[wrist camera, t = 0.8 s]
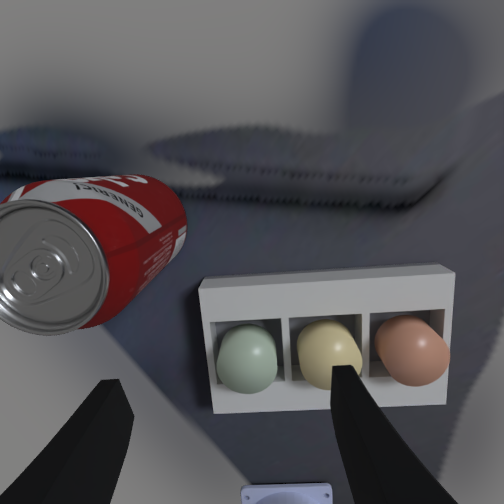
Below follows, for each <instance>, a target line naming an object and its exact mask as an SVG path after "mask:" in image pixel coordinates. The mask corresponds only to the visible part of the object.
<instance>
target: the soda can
mask: <svg viewBox="0 0 504 504" xmlns="http://www.w3.org/2000/svg"><path fill="white" fill-rule="evenodd" d="M186 235H187V217H186V213H185V210H184V207H183V205H182V203H181V201H180V199H179V198H178V196H177V195H176V194H175V193H174V191H173V190H172V189H171V188H169V187H168V186H167V185H166V184H164V183H163V182H161V181H159V180H157V179H155V178H153V177H149V176H145V175H120V176H105V177H90V178H75V179H60V180H47V181H40V182H35V183H31V184H28V185H26V186H23V187H21V188H19V189H17V190H16V191H14V192H13V193H11V194H10V195H9V196H7V197H6V198H5V199H4V200H3V201H2V202H1V204H0V319H1V320H2V321H4V322H5V323H7V324H9V325H10V326H12V327H14V328H17V329H19V330H22V331H24V332H28V333H32V334H37V335H48V336H51V335H60V334H65V333H68V332H71V331H74V330H76V329H84V328H90V327H94V326H97V325H100V324H102V323H104V322H106V321H108V320H110V319H112V318H113V317H115V316H116V315H117V314H118V313H120V312H121V311H122V310H123V309H124V308H125V307H126V306H127V305H128V304H129V303H130V302H131V301H132V300H133V299H134V298H135V297H136V296H137V295H138V294H139V293H140V292H141V291H142V290H143V288H144V287H145V286H146V285H147V284H148V283H149V282H150V281H151V280H152V279H153V278H154V277H155V276H156V275H157V274H158V273H159V272H160V271H161V270H162V269H163V268H164V267H165V266H166V265H167V264H168V263H169V262H170V261H171V260H172V259H173V258H174V257H175V256H176V255H177V254H178V253H179V251H180V250H181V248H182V246H183V244H184V242H185V239H186Z"/></svg>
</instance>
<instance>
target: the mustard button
mask: <svg viewBox="0 0 504 504" xmlns="http://www.w3.org/2000/svg"><path fill="white" fill-rule="evenodd" d="M297 351H298V357H299V362H300V368H301V372H302V374H303V376H304V378H305V379H306V380H307V381H308V382H309V383H310V384H311V385H313V386H314V387H316V388H319V389H322V390H331V377H332V366H337V365H352V366H353V367H354V368H355V370H356V372H357V374H358V375H359V374H360V372H361V369H362V356H361V353H360V351H359V349H358V347H357V345H356V343H355V341H354V339H353V337H352V335H351V333H350V331H349V330H348V329H347V328H346V327H345V326H344V325H343V324H342V323H340V322H338V321H335V320H331V319H321V320H317V321H314V322H312V323H310V324H308V325H307V326H306V327H305V328H304V329H303V330H302V331H301V333H300V334H299V336H298V339H297Z"/></svg>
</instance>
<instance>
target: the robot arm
mask: <svg viewBox="0 0 504 504" xmlns="http://www.w3.org/2000/svg"><path fill="white" fill-rule="evenodd" d="M330 408H331V413H332V419H333V425H334V430H335V435H336V439H337V443H338V447H339V450H340V454H341V457H342V461H343V464H344V468H345V471H346V475H347V478H348V482H349V485H350V489H351V492H352V495H353V499H354V502H355V504H458V503H457V502H456V501H455V500H454V499H453V498H452V496H451V495H450V494H449V493H448V492H447V491H446V490H445V489H444V488H443V487H442V486H441V484H440V483H439V482H438V481H437V480H436V479H435V478H434V477H433V475H432V474H431V473H430V472H429V471H428V470H427V468H426V467H425V466H424V465H423V464H422V463H421V461H420V460H419V459H418V458H417V456H416V455H415V454H414V453H413V452H412V450H411V449H410V448H409V447H408V445H407V444H406V443H405V442H404V440H403V439H402V438H401V436H400V435H399V434H398V432H397V431H396V430H395V428H394V427H393V426H392V424H391V423H390V422H389V420H388V419H387V418H386V416H385V415H384V413H383V412H382V411H381V409H380V408H379V406H378V405H377V403H376V402H375V400H374V399H373V397H372V396H371V394H370V393H369V391H368V390H367V388H366V387H365V385H364V384H363V382H362V380H361V379H360V377H359V375H358V374H357V372H356V370H355V368H354V367H353V366H352V365H337V366H332V377H331V395H330ZM133 421H134V414H133V412H132V409H131V407H130V404H129V402H128V400H127V398H126V395H125V392H124V390H123V388H122V386H121V383H120V381H119V379H110V380H101V381H100V382H99V383H98V384H97V386H96V387H95V388H94V389H93V390H92V392H91V393H90V394H89V395H88V397H87V398H86V399H85V400H84V401H83V403H82V404H81V405H80V406H79V408H78V409H77V410H76V411H75V413H74V414H73V415H72V416H71V417H70V418H69V420H68V421H67V422H66V423H65V425H64V426H63V427H62V428H61V429H60V430H59V432H58V433H57V434H56V435H55V436H54V438H53V439H52V440H51V441H50V442H49V443H48V445H47V446H46V447H45V448H44V449H43V450H42V451H41V452H40V454H39V455H38V456H37V457H36V458H35V459H34V460H33V461H32V462H31V464H30V465H29V466H28V467H27V468H26V469H25V470H24V471H23V472H22V473H21V474H20V476H19V477H18V478H17V479H16V480H15V481H14V482H13V483H12V484H11V485H10V486H9V487H8V488H7V489H6V490H5V491H4V492H3V493H2V494H1V495H0V504H110V502H111V499H112V496H113V493H114V490H115V487H116V484H117V481H118V478H119V475H120V472H121V468H122V465H123V462H124V459H125V456H126V453H127V449H128V445H129V441H130V436H131V431H132V426H133ZM326 493H327V494H326ZM241 502H242V504H332V488H331V485H330V484H328V483H306V484H272V485H245V486H243V487H242V488H241Z"/></svg>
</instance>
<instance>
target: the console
mask: <svg viewBox="0 0 504 504" xmlns="http://www.w3.org/2000/svg"><path fill="white" fill-rule="evenodd" d="M454 284H455V273H454V272H453V271H451V270H449V269H447V268H446V267H444V266H442V265H440V264H438V263H437V262H428V263H413V264H397V265H381V266H366V267H350V268H334V269H319V270H303V271H288V272H272V273H256V274H241V275H225V276H210V277H204V279H203V281H202V283H201V285H200V287H199V289H198V291H199V299H200V307H201V315H202V323H203V331H204V339H205V347H206V355H207V363H208V371H209V379H210V387H211V395H212V403H213V411H214V414H221V413H245V412H269V411H293V410H317V409H331V408H330V395H331V390H322V389H319V388H316V387H314V386H313V385H311V384H310V383H309V382H308V381H307V380H306V379H305V378H304V376H303V374H302V372H301V368H300V362H299V357H298V351H297V339H298V336H299V334H300V333H301V331H302V330H303V329H304V328H305V327H306V326H307V325H308V324H310V323H312V322H314V321H317V320H321V319H331V320H335V321H338V322H340V323H342V324H343V325H344V326H345V327H346V328H347V329H348V330H349V331H350V333H351V335H352V337H353V339H354V341H355V343H356V345H357V347H358V349H359V351H360V353H361V356H362V369H361V372H360V374H359V377H360V379H361V380H362V382H363V384H364V385H365V387H366V388H367V390H368V391H369V393H370V394H371V396H372V397H373V399H374V400H375V402H376V403H377V405H378V406H379V407H390V406H414V405H438V404H446V396H447V382H448V368H449V365H448V367H447V369H446V371H445V372H444V374H443V375H442V376H441V377H440V378H438V379H437V380H436V381H434V382H432V383H430V384H428V385H424V386H418V387H412V386H406V385H403V384H401V383H399V382H397V381H396V380H394V379H393V378H392V376H391V375H390V374H389V372H388V370H387V369H386V367H385V365H384V364H383V362H382V360H381V359H380V357H379V355H378V354H377V352H376V349H375V344H374V341H375V335H376V333H377V331H378V329H379V328H380V326H381V325H382V324H383V323H384V322H386V321H387V320H388V319H390V318H392V317H395V316H398V315H413V316H416V317H419V318H420V319H422V320H423V321H425V322H426V323H427V324H428V325H429V326H430V327H431V328H432V329H433V330H434V331H435V332H436V333H437V334H438V335H439V336H440V337H441V338H442V339H443V340H444V341H445V342H446V344H447V346H448V348H449V351H450V340H451V326H452V312H453V298H454ZM240 324H256V325H259V326H261V327H263V328H265V329H266V330H267V331H268V332H269V333H270V334H271V335H272V337H273V338H274V341H275V344H276V355H277V374H276V377H275V379H274V381H273V382H272V384H271V385H270V386H269V387H267V388H266V389H265V390H263V391H261V392H258V393H254V394H241V393H237V392H235V391H232V390H230V389H229V388H227V387H226V386H225V385H224V384H223V383H222V381H221V380H220V378H219V376H218V373H217V360H218V355H219V351H220V347H221V343H222V340H223V337H224V336H225V334H226V333H227V332H228V331H229V330H230V329H231V328H233V327H235V326H237V325H240Z"/></svg>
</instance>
